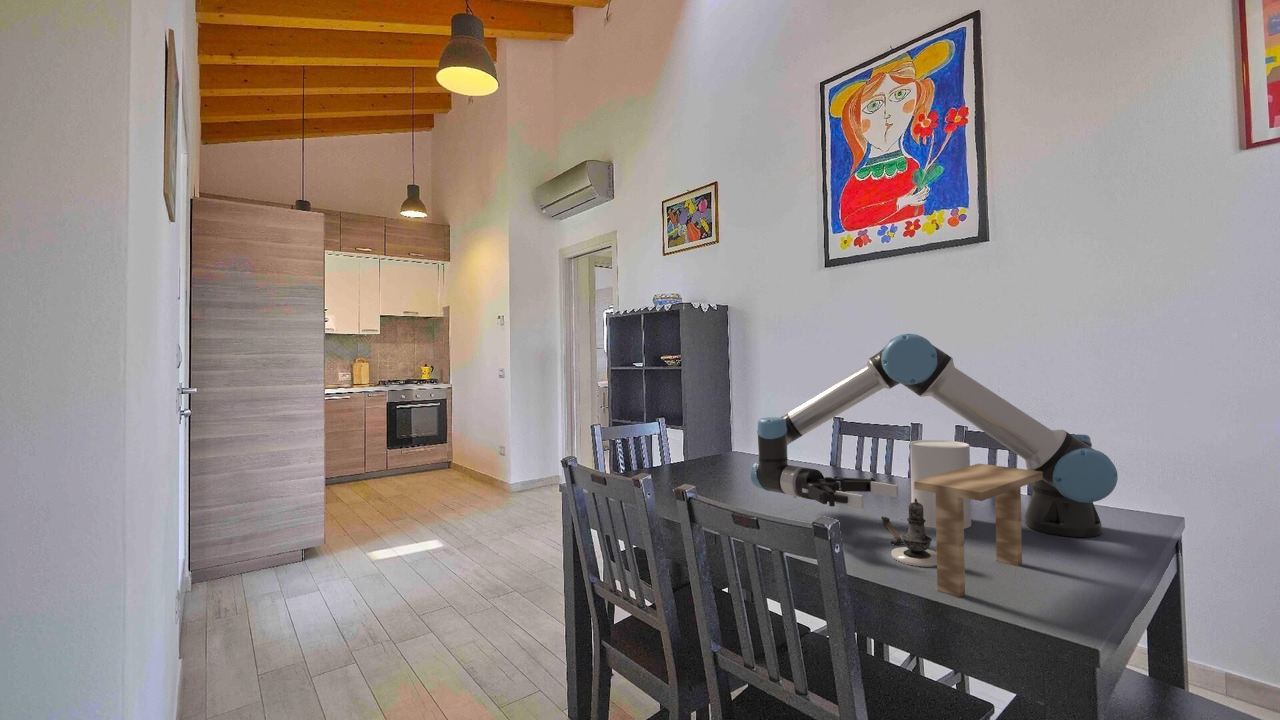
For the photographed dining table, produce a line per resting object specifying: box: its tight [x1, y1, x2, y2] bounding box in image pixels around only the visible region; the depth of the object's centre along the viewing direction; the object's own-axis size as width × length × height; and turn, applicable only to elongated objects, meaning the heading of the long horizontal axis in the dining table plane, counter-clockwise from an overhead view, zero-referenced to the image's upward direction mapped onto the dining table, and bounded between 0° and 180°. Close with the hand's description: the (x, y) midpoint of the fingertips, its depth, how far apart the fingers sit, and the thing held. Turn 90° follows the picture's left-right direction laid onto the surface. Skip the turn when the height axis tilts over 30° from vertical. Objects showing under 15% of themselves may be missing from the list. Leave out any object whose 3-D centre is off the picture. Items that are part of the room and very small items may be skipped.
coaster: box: [890, 546, 937, 568], centre depth 125 cm, size 10×10×1 cm
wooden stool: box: [914, 463, 1043, 598], centre depth 114 cm, size 12×26×20 cm, turn 126°
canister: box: [909, 439, 972, 530], centre depth 150 cm, size 14×14×20 cm
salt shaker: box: [900, 498, 933, 559], centre depth 125 cm, size 6×6×12 cm
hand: (880, 496), depth 131 cm, fingers open, 13 cm apart
